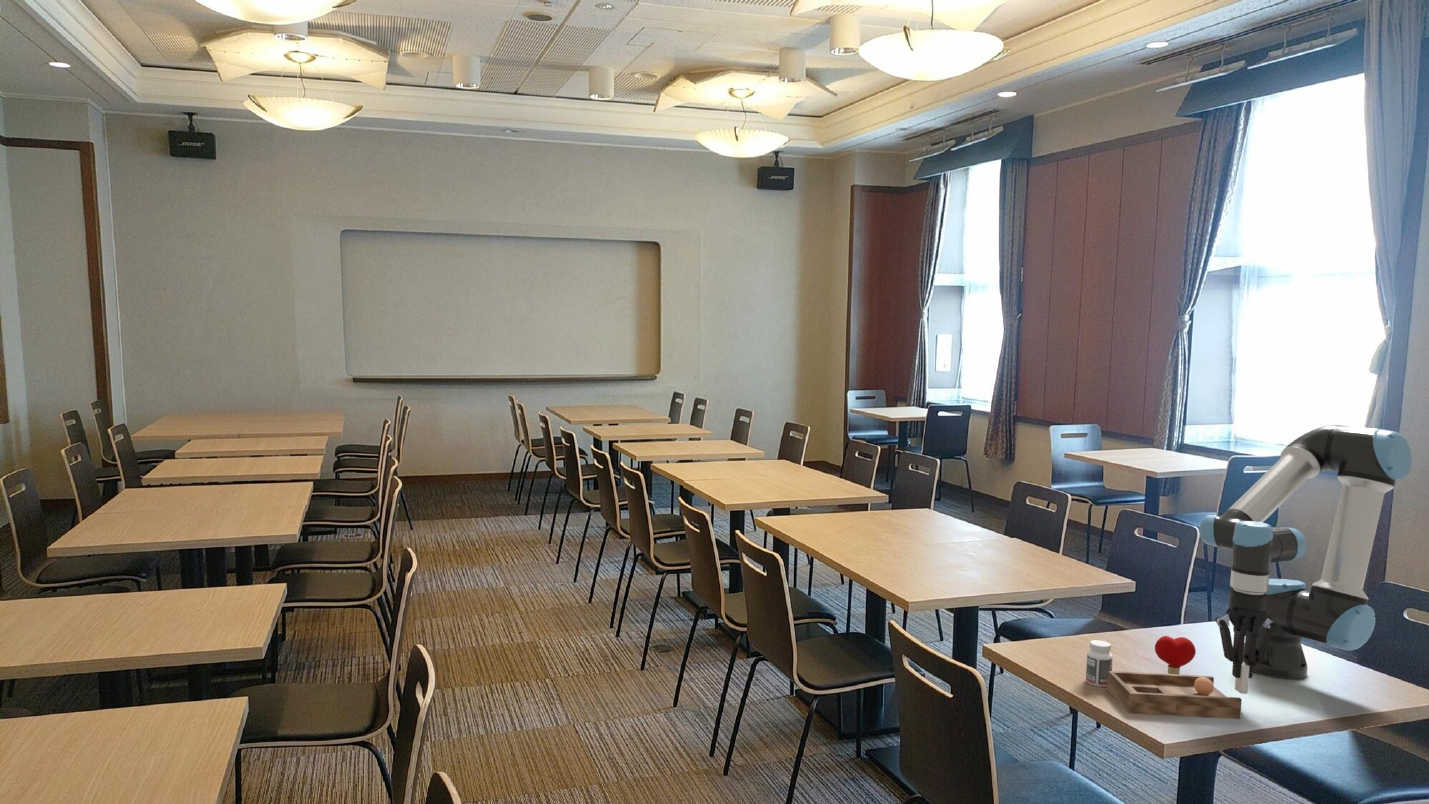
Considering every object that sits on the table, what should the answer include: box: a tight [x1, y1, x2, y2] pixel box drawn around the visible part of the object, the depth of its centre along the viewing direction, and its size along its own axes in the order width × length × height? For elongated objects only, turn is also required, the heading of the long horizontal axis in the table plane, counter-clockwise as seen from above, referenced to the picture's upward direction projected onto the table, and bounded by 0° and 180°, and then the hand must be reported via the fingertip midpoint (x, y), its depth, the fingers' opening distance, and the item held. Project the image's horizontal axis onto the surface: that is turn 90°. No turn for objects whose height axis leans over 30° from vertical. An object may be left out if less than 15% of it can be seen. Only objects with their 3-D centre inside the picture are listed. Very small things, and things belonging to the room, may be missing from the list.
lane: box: [1106, 670, 1242, 720], centre depth 213 cm, size 24×14×4 cm, turn 86°
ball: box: [1194, 677, 1215, 695], centre depth 212 cm, size 4×4×4 cm
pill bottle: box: [1085, 639, 1113, 688], centre depth 224 cm, size 6×6×10 cm
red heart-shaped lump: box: [1154, 635, 1197, 675], centre depth 230 cm, size 9×7×10 cm
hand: (1241, 691), depth 211 cm, fingers closed
